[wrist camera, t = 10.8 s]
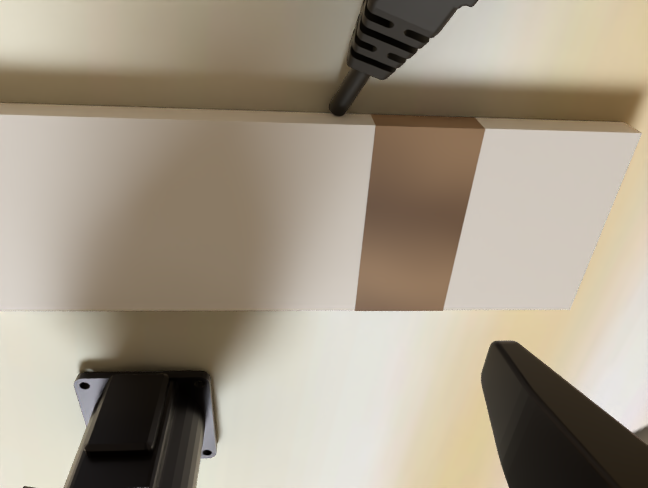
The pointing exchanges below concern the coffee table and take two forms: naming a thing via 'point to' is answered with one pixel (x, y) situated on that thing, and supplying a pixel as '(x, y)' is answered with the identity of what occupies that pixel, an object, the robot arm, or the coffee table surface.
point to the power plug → (389, 40)
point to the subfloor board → (298, 209)
